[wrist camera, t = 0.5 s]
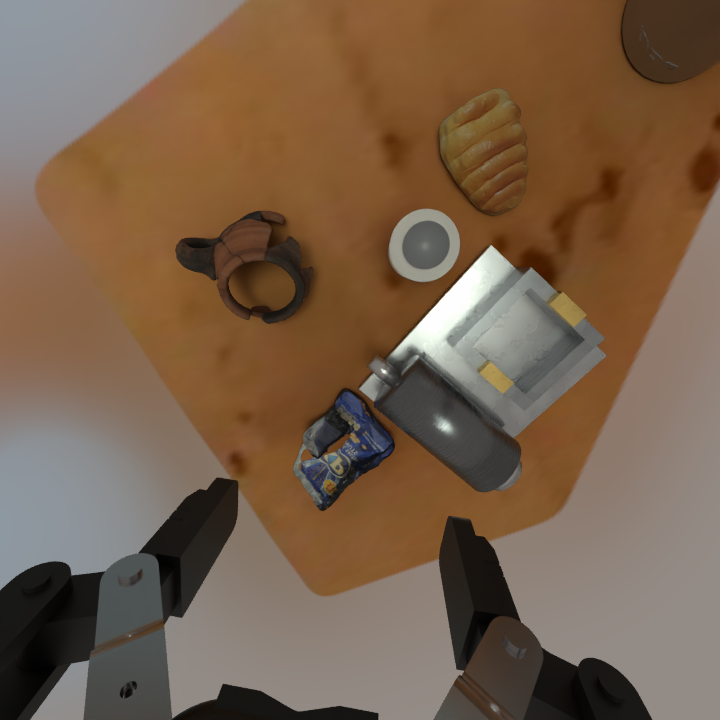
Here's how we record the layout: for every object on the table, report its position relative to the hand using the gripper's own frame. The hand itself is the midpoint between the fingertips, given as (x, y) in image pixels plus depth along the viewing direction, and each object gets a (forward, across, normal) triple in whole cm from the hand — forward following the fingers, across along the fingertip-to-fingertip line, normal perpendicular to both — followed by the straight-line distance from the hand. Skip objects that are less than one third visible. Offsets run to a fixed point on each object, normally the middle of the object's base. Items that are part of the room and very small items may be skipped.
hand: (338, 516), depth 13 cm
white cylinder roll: (+24, -3, -11) cm, 27 cm away
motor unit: (+24, -11, 0) cm, 27 cm away
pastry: (+25, -8, -20) cm, 33 cm away
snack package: (+25, +2, +11) cm, 27 cm away
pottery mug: (+24, +12, -8) cm, 28 cm away
